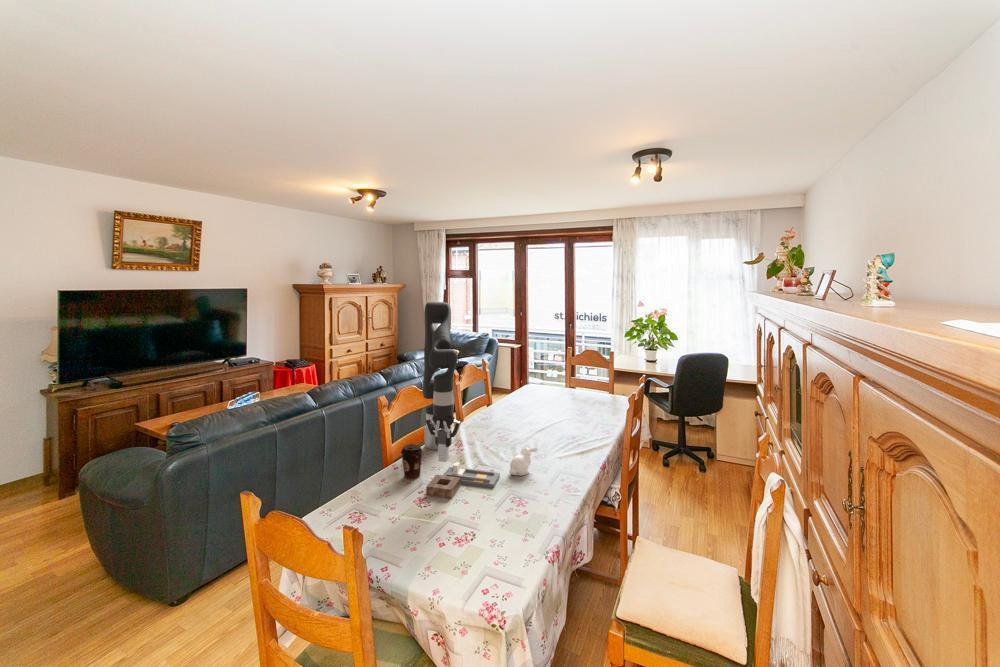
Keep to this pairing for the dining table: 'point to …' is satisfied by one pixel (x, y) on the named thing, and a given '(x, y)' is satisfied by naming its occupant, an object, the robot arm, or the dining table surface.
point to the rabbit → (521, 462)
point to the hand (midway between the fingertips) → (443, 445)
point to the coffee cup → (411, 461)
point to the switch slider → (458, 469)
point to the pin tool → (442, 446)
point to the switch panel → (475, 477)
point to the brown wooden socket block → (443, 486)
